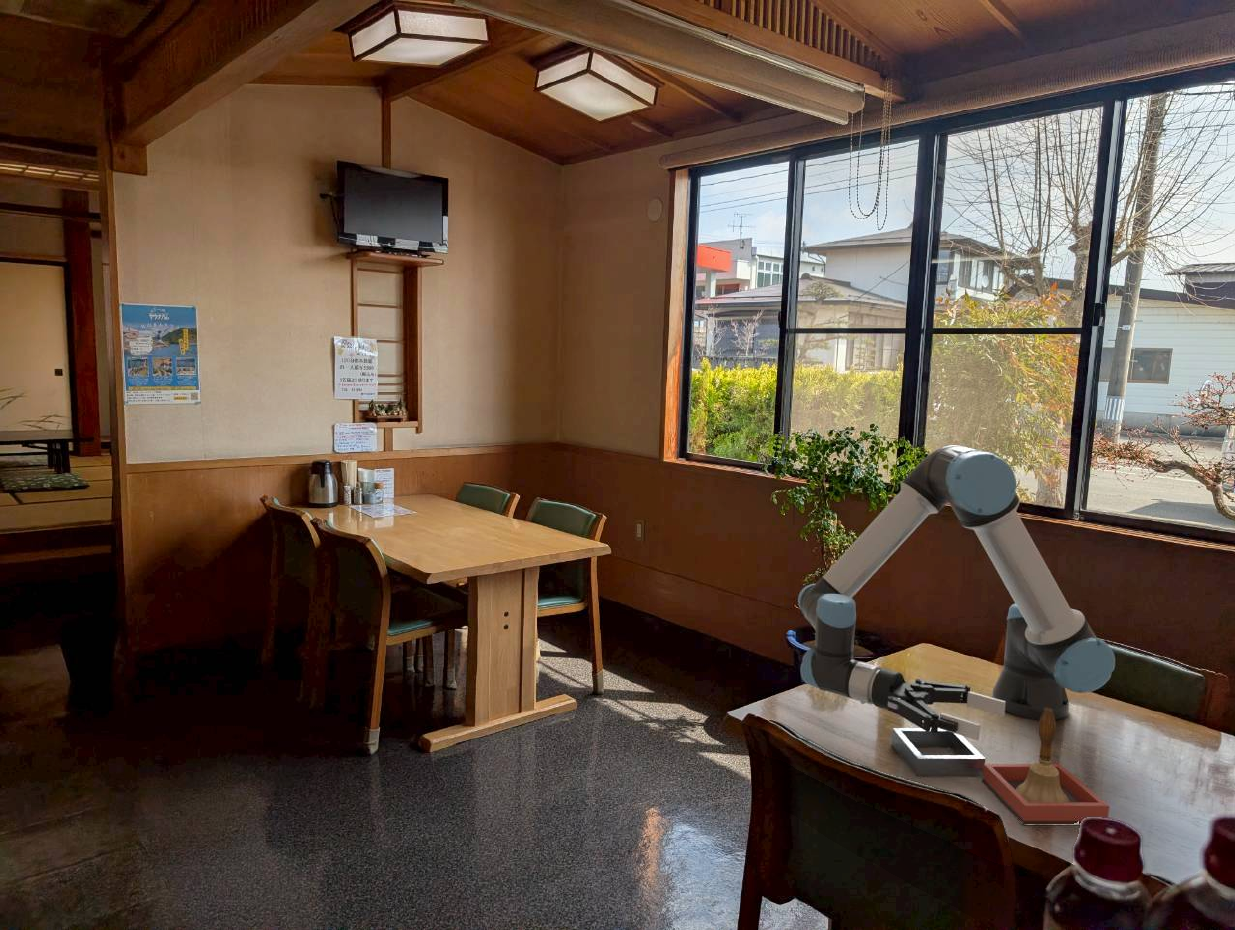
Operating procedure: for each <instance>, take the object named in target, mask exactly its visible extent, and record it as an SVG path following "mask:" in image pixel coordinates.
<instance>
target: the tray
mask: <svg viewBox="0 0 1235 930" xmlns="http://www.w3.org/2000/svg"><path fill="white" fill-rule="evenodd" d="M1031 764H1032V763H985V764H984V767H983V777H981V778H982V780H981V781H982V783H983V785H984V786H986V788H988V790H989V791H991V792H992V794H993V795H994V796H995V797H996V798H997V799H998V800H999V801H1000V802H1001V803H1002V804H1003V805H1004V807H1006V809H1008V811H1010V813H1011V814H1012V815H1013V816H1014V815H1015V816H1014V817H1015V818H1016V817H1017V818H1018V819H1017V818H1016V819H1017V820H1018V821H1019V820H1020V821H1021V822H1022V823H1023V824H1074V823H1077V822H1078V821H1079V824H1080V823H1081V821H1082V820H1083V819H1084V818H1087V817H1102V818H1108V819H1109V812H1110V811H1109V810H1110V805H1109V804H1108V803H1107V802H1105V801H1104V800H1103V799H1102V798H1101V797H1100V796H1098V795H1097V794H1096V793H1095V792H1094V791H1092V789H1090V788H1089V787H1088V786H1087V785H1085V784H1084V783H1083V782H1082V781H1081V780H1079V779H1078V778H1077V777H1076V776H1074V775H1073V774H1072V773H1071V772H1070V771H1069V770H1067V768H1065V767H1064V766H1062V765H1061V764H1060V763H1051V765H1052V766H1054V767H1055V768H1056V769H1057V770H1058V771H1059V780H1060V786H1061V789H1062V791H1063V793H1064V794H1065V795H1066V796H1067V798H1068V800H1069V803H1028V802H1027V801H1026V800H1025V799H1024V798H1023V797H1022V796H1021V795H1020V794H1019V793H1018V792H1017V791H1016V788H1017V787H1018V786H1019V785H1020V784H1023V783H1024V781H1025V780H1026V778H1027V776H1028V773H1029V769H1030V766H1031ZM1020 821H1019V822H1020ZM1021 822H1020V823H1021ZM1022 823H1021V824H1022ZM1023 824H1022V825H1023Z"/></svg>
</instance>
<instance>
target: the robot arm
mask: <svg viewBox="0 0 1235 930" xmlns="http://www.w3.org/2000/svg"><path fill="white" fill-rule="evenodd" d="M1016 489H1017V478H1016V475H1015V472H1014V471H1013V469H1012V467H1011V466H1010V465H1009V463H1007V462H1006V461H1005V460H1004V459H1003V458H1001V457H999V456H997V455H996V454H995V453H992V452H991V451H990V452H989V451H986V450H982V449H973V448H970V447H965V446H963V445H959V444H953V445H945V446H942V447H939V448H937V449H935V450H934V451H932V452H931V453H930V454H928V455H927V456H926V457H925V458H923V460H922V461H920V463H918V464H917V465H916V467H915V468H914V469H912V471H911V472H910V473H908V474H907V476H906V477H905V478H904V479H903V481H901V482H900V491H899V492H898V493H897V494H896V496H894V498H892V499H891V501H890V502H889V503H888V504H887V505H886V507H884V508H883V510H881V512H880V513H879V514H878V515H877V517H875V518H874V520H872V522H871V523H870V524H869V525H868V526H867V527H866V528H865V529H864V531H863V532H862V533H861V534H860V535H859V536H858V537H857V538H856V539H855V540H854V541H853V543H852V544H851V545H850V546H849V547H848V548H847V550H845V552H843V554H842V555H840V557H839V558H838V559H837V560H836V561H835V563H834V564H833V565H832V566H831V567H830V568H829V569H828V570H827V571H826V572H825V574H824V575H823V576H822V577H821V578H820V579H819V580H818V581H817V582H816V583H811V584H808V585H806V586H804V587H803V588H802V589H801V590H800V592H799V594H798V597H797V604H798V607H799V610H800V611H801V614H802V615H803V617H804V618H805V619H806V620H807V621H808V622H809V623H810V625H811V626H812V627H813V629H814V630H815V644H814V648H809V649H808V650H807V651H806V652H805V653H804V654H803V656H802V662H801V664H800V677H801V679H802V681H803V682H804V683H805V684H806V685H809V686H811V687H814V688H816V689H819V690H821V691H824V692H829V693H832V694H834V695H838V696H839V695H840V696H842V697H846V698H848V699H852V700H856V701H858V702H860V704H862V705H864V704H868V705H870V706H871V705H874V706H875V707H877V708H879V709H883V710H886V711H888V712H891V713H893V714H897V715H899V716H900V717H902V718H903V719H905V720H907V721H908V722H910V723H912V724H914V726H917V727H918V728H922V729H923V730H925V731H930V728H931V732H933V733H938V728H939V729H942V730H946V731H949V732H952V733H955V734H958V735H961V736H963V737H964V738H969V739H971V740H975V741H979V739H980V729H981V724H980V723H978V722H974V721H971V720H969V719H964V718H962V717H958V716H954V715H951V714H948V713H945V712H941V713H940V714H939V713H938V712H936V711H935V710H934V709H933V708H931V707H930V705H933V704H934V703H943V704H944V703H945V704H966V707H969V708H973V709H976V710H978V711H983V712H985V713H990V714H993V715H997V716H1000V717H1004V716H1005V713H1006V712H1007V713H1010V714H1013V715H1015V716H1016V715H1017V716H1019V717H1023V718H1027V719H1034V720H1039V721H1040V718H1041V716H1042V714H1043V712H1044V708H1051V709H1053V714H1054V717H1055V721H1056V720H1062V719H1064V718H1067V717H1068V715H1069V708H1070V701H1069V697H1068V695H1067V690H1069V692H1074V693H1078V694H1086V693H1091V692H1094V691H1096V690H1098V689H1100V688H1101V687H1103V686H1104V685H1106V683H1107V682H1108V681H1109V680H1110V679H1111V677H1112V673H1113V672H1114V670H1115V667H1116V656H1115V653H1114V651H1113V649H1112V648H1111V646H1109V644H1107V642H1106V641H1105V640H1103V639H1101V638H1098V637H1097V636H1096V634H1095V633H1094V631H1093V629H1092V628H1091V626H1090V624H1089V622H1088V620H1087V619H1086V617H1085V615H1084V613H1083V612H1082V611H1080V610H1078V609H1073V608H1071V607H1070V605H1069V603H1068V602H1067V600H1066V598H1065V596H1064V594H1063V593H1062V591H1061V589H1060V587H1059V585H1058V583H1057V581H1056V580H1055V578H1054V576H1053V575H1052V572H1051V571H1050V569H1049V568H1048V565H1047V563H1046V562H1045V560H1044V559H1043V557H1042V555H1041V553H1040V551H1039V549H1038V547H1037V546H1036V544H1035V542H1034V541H1033V538H1032V537H1031V535H1030V533H1029V532H1028V530H1027V528H1026V526H1025V524H1024V522H1023V521H1022V519H1021V517H1020V516H1019V514H1018V512H1017V510H1018V507H1019V506H1020V503H1021V502H1020V498H1019V497H1018V494H1017V493H1016ZM947 504H949V505H950V507H951V509H952V510H953V512H954V514H955V516H956V517H957V519H958V520H959V522H960V525H961V526H962V527H963V528H966V529H968V530H973V531H974V532H975V535H976V536H977V538H978V540H979V542H980V544H981V545H982V547H983V549H984V550H985V552H986V553H987V556H988V557H989V559H990V561H991V562H992V565H993V566H994V568H995V569H996V571H997V573H998V575H999V577H1000V578H1001V581H1002V582H1003V584H1004V586H1005V588H1006V589H1007V591H1008V592H1009V595H1010V596H1011V598H1012V600H1013V602H1014V603H1013V604H1011V605H1010V606H1009V608H1008V615H1007V617H1006V630H1005V631H1006V634H1005V645H1004V660H1003V666H1002V670H1001V672H1000V674H999V676H998V677H997V679H996V683H995V685H994V687H993V688H992V694H991V695H992V696H988V695H985V694H981V693H977V692H974V691H971V686H970V685H968V684H967V685H966V684H964V685H963V684H957V683H948V682H942V681H941V682H940V681H932V680H926V679H921V678H915V682H911V683H910V682H906V681H905V678H904V675H903V674H902V673H901V672H899V671H897V670H892V669H890V668H886V667H884V668H882V667H881V666H879V665H875V664H871V663H868V662H865V661H861V660H857V659H855V658H853V657H854V644H855V643H854V642H855V630H856V621H857V614H856V613H857V611H856V607H857V605H856V601H855V600H854V599H853V597H854V596H855V595H856V594H857V593H858V592H859V591H860V590H861V589H862V587H863V586H864V585H865V584H867V582H868V581H869V580H870V579H871V578H872V576H873V575H874V574H876V572H878V570H879V569H880V568H881V567H882V566H883V565H884V564H885V563H886V562H887V560H889V558H890V557H892V555H893V554H894V553H895V552H896V551H897V550H898V549H899V548H900V547H901V546H902V544H903V543H904V542H906V540H908V538H909V537H910V536H911V534H913V532H915V531H916V529H917V528H918V527H919V526H920V525H921V524H922V523H923V522H924V521H925V519H927V517H928V516H930V515H935V514H938V513H939V512H940V511H942V509H943V508H944V507H945V506H946V505H947ZM1066 689H1067V690H1066Z"/></svg>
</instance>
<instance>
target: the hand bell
mask: <svg viewBox="0 0 1235 930" xmlns="http://www.w3.org/2000/svg"><path fill="white" fill-rule="evenodd" d="M1056 730H1057V723H1056V720H1055V717H1054V714H1053V709H1051V708H1044V712H1043V714H1042V716H1041V718H1040V720H1039V722H1038V734H1039V739H1040V748H1039V749H1040V750H1039V761H1037V762H1033V763H1030V764H1031V766H1030V769H1029V773H1028V776H1027V778H1026V780H1025V781H1024V783H1023V784H1020V785H1019V786H1018V787H1017V788H1016V791H1017V792H1018V793H1019V794H1020V795H1021V796H1022V797H1023V798H1024V799H1025V800H1026V801H1027V802H1028V803H1069V800H1068V798H1067V796H1066V795H1065V794H1064V793H1063V791H1062V789H1061V786H1060V780H1059V771H1058V770H1057V769H1056V768H1055V767H1054V766H1052V765H1051V764H1052V758H1051V756H1052V753H1051V751H1052V743H1053V741H1054V739H1055V736H1056Z"/></svg>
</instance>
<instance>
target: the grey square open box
mask: <svg viewBox="0 0 1235 930" xmlns="http://www.w3.org/2000/svg"><path fill="white" fill-rule="evenodd" d="M891 746H892V748H893V749H894V750H895V752H896V753H897V754H898V755H899V757H900V758H901V759H902V760H903V762H905V765H907V767H908V768H909V769H910V770H911V772H913V774H914V775H915V776H916V777H917V778H922V777H923V778H925V777H927V778H929V777H930V778H937V777H938V778H940V777H941V778H942V777H943V778H946V777H947V778H948V777H949V778H951V777H952V778H959V777H960V778H965V777H966V778H968V777H969V778H970V777H971V778H976V777H977V778H978V777H979V778H983V767H984V764H986V758H985V757H984V756H983V754H981V753H980V751H978V750H977V748H975V747H974V745H972V744H971V743H970V742H969V741H968V740H967V739H966V737H965V736H961V735H958V734H955V733H952V732H949V731H946V730H942V729H939V727H938V733H933V732H931V728H930V731H925V730H923V729H922V728H920V727H918V728H917V727H910V728H909V727H892V730H891ZM918 749H951V751H952V752H953V753H954V754H953V755H951V754H950V755H949V754H946V755H945V754H944V755H943V754H941V755H939V754H938V755H937V754H936V755H934V754H933V755H931V754H929V755H928V754H927V755H923V754H922V753H921V752H920V751H919V750H918Z"/></svg>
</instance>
